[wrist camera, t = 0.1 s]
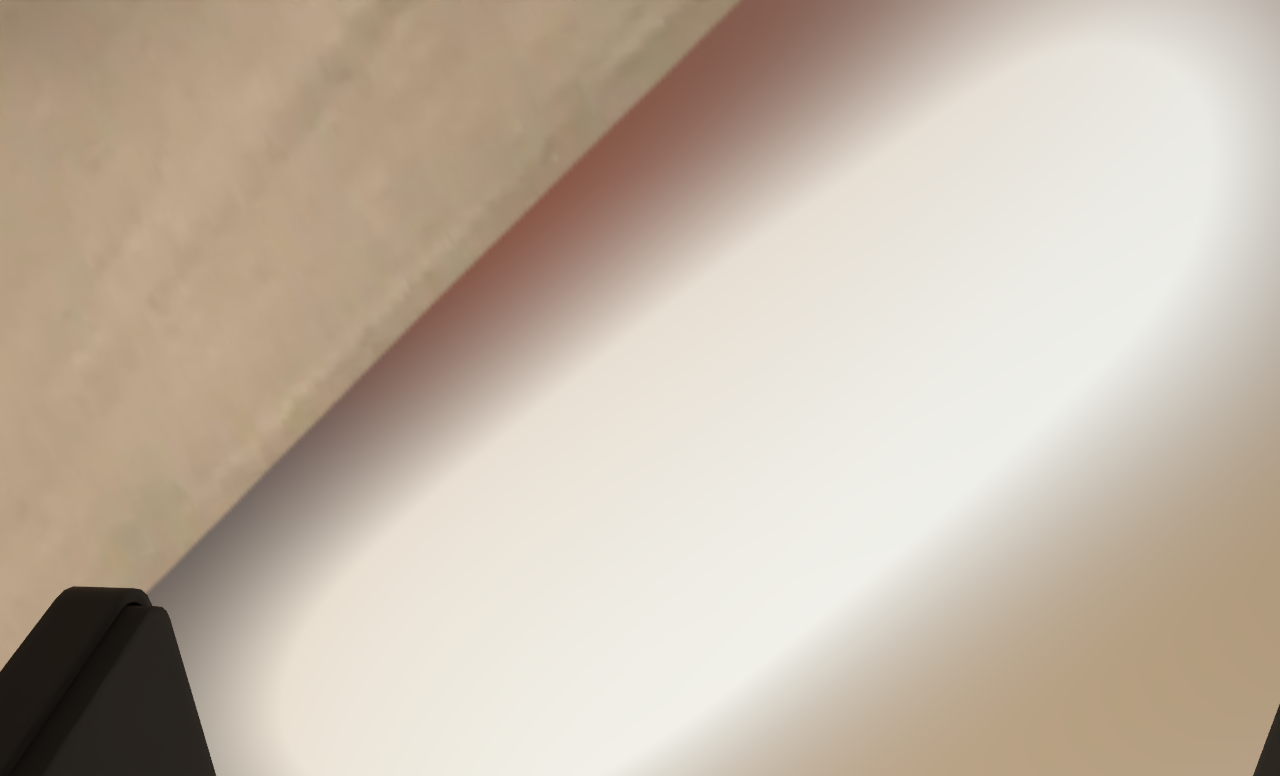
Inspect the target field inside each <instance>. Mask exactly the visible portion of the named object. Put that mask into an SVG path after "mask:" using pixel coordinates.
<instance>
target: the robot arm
mask: <svg viewBox="0 0 1280 776" xmlns="http://www.w3.org/2000/svg"><path fill="white" fill-rule="evenodd" d="M0 776H216V774H215V770H214V767H213V763H212V760H211V757H210V753H209V750H208V746H207V743H206V740H205V736H204V733H203V729H202V726H201V723H200V719H199V716H198V712H197V709H196V706H195V702H194V699H193V695H192V693H191V689H190V685H189V682H188V678H187V675H186V672H185V668H184V665H183V662H182V658H181V655H180V651H179V648H178V644H177V641H176V637H175V634H174V631H173V628H172V624H171V620H170V618H169V615H168V613H167V611H166V610H164V608H163V607H157V606H152V604H151V602H150V600H149V598H148V595H146V594H145V593H144V592H143V591H142V590H140V589H135V588H106V587H74V586H73V587H71V588H68V589H66V590H64V591H63V592H62V593H61V594H60V595H59V596H58V597H57V598H56V599H55V600H54V602H53V603H52V604H51V606H50V607H49V608H48V610H47V611H46V612H45V614H44V615H43V616H42V618H41V619H40V620H39V622H38V623H37V624H36V625H35V627H34V628H33V629H32V631H31V632H30V633H29V635H28V636H27V637H26V639H25V640H24V641H23V643H22V644H21V645H20V646H19V648H18V649H17V650H16V652H15V653H14V654H13V656H12V657H11V658H10V660H9V661H8V662H7V664H6V665H5V666H4V668H3V669H2V670H1V671H0ZM1253 776H1280V705H1279V708H1278V710H1277V713H1276V715H1275V718H1274V721H1273V724H1272V726H1271V729H1270V732H1269V734H1268V737H1267V740H1266V742H1265V745H1264V748H1263V751H1262V753H1261V756H1260V759H1259V761H1258V764H1257V767H1256V769H1255V772H1254V775H1253Z"/></svg>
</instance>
